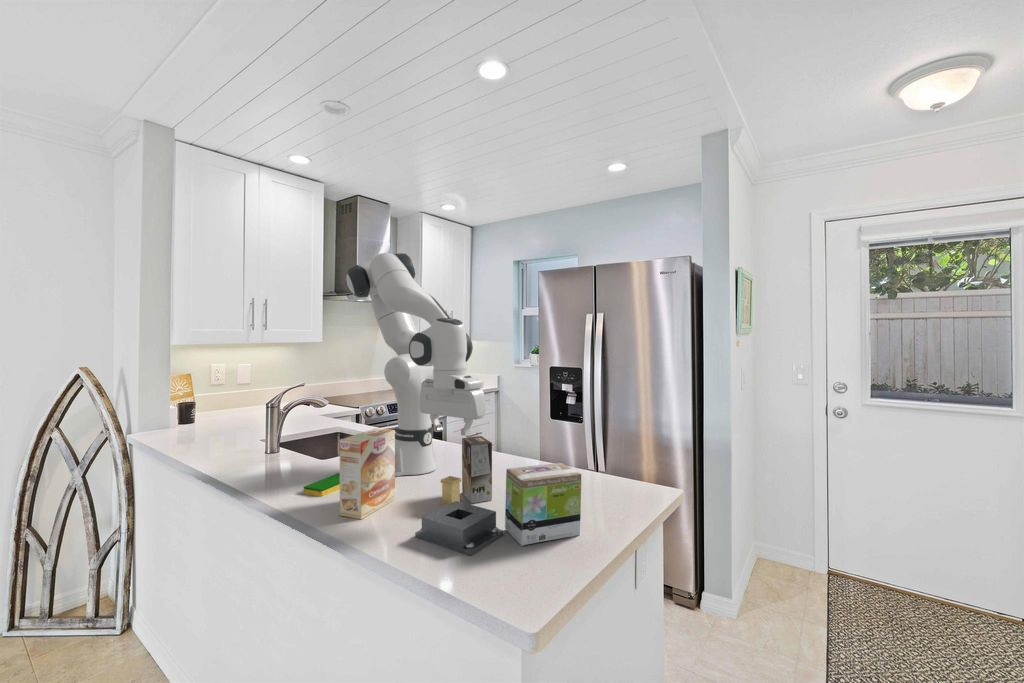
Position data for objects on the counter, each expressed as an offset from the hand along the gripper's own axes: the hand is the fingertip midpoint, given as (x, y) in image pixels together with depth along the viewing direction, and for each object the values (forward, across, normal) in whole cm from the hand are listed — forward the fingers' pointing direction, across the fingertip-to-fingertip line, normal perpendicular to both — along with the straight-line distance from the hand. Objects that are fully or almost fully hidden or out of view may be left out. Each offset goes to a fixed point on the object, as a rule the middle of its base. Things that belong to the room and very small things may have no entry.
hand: (451, 433), depth 123 cm
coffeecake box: (+20, -19, -12) cm, 30 cm away
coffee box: (+20, -1, +11) cm, 23 cm away
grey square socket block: (+20, +12, -11) cm, 26 cm away
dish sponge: (+20, -41, -8) cm, 47 cm away
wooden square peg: (+20, 0, 0) cm, 20 cm away
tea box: (+21, +27, +1) cm, 34 cm away
